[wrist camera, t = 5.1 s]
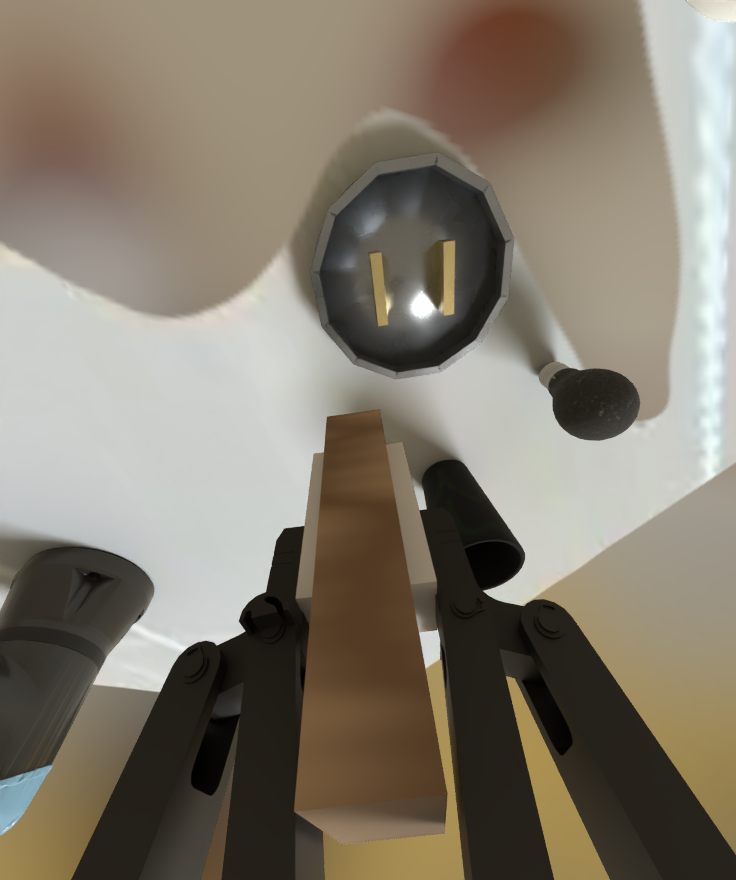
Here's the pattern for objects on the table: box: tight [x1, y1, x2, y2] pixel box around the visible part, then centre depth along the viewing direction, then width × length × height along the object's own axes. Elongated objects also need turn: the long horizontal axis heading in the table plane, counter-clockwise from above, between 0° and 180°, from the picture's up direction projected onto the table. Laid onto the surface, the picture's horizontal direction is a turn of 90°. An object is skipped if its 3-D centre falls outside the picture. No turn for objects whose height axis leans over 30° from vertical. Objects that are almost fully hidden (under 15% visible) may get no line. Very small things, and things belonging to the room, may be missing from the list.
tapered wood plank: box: [294, 410, 447, 844], centre depth 11 cm, size 2×4×12 cm, turn 7°
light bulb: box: [539, 362, 640, 441], centre depth 28 cm, size 6×6×10 cm
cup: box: [422, 460, 525, 591], centre depth 34 cm, size 8×8×12 cm
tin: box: [310, 152, 514, 379], centre depth 26 cm, size 15×15×3 cm
